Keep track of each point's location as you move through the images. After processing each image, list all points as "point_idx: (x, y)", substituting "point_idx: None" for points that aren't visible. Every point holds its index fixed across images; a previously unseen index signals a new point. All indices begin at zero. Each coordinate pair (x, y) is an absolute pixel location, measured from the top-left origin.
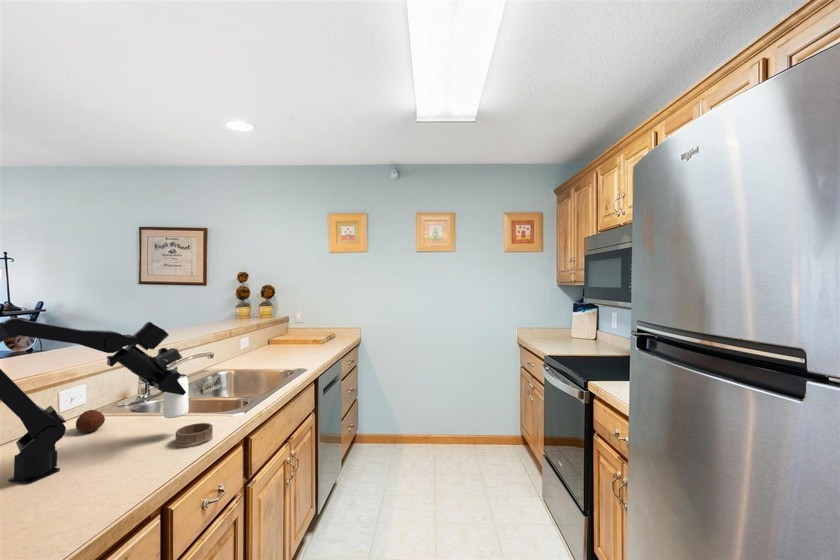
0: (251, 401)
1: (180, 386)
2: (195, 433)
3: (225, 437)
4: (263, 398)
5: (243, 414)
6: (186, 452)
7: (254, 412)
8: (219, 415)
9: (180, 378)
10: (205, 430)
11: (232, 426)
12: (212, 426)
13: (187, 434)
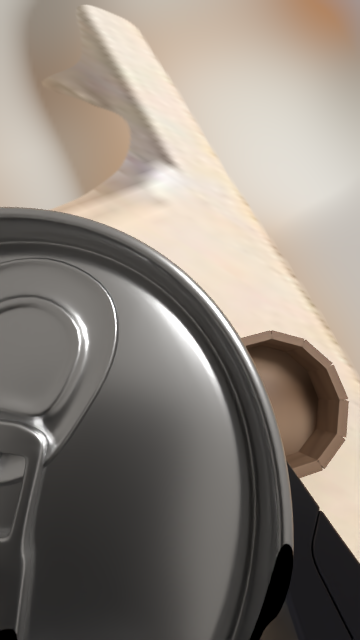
0: (93, 94)
1: (309, 504)
2: (338, 432)
3: (327, 331)
4: (106, 65)
5: (182, 178)
6: (344, 481)
7: (199, 154)
8: (110, 213)
9: (264, 499)
10: (338, 389)
11: (252, 259)
12: (305, 341)
13: (320, 457)
